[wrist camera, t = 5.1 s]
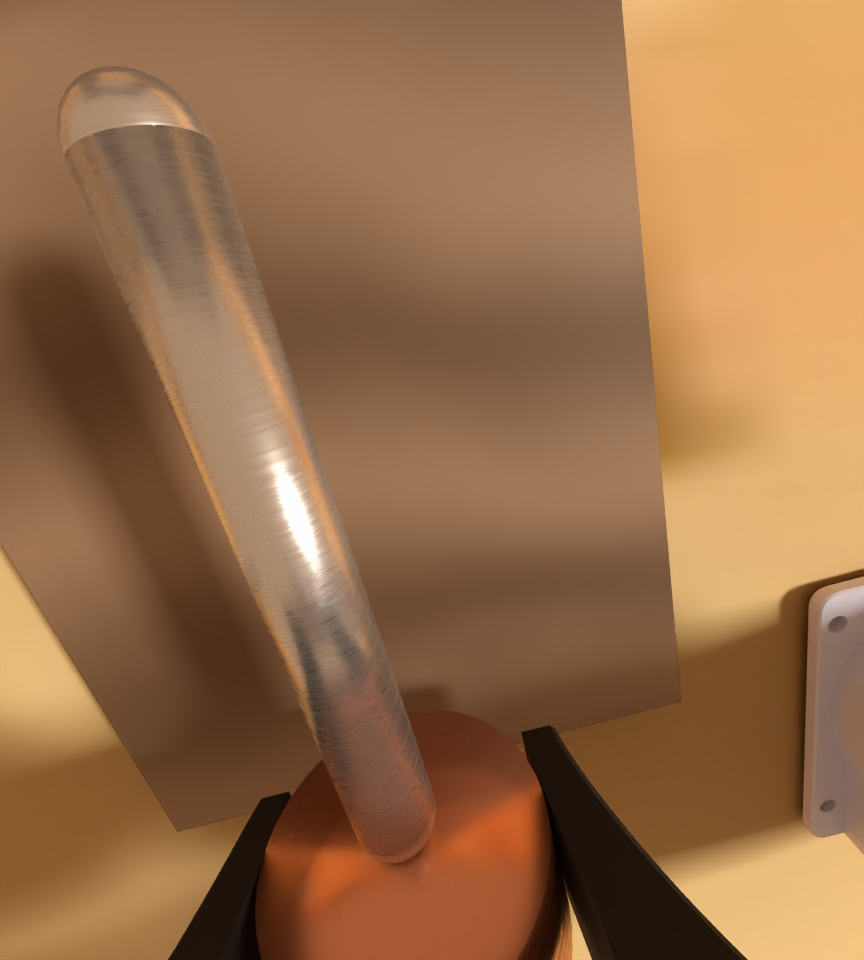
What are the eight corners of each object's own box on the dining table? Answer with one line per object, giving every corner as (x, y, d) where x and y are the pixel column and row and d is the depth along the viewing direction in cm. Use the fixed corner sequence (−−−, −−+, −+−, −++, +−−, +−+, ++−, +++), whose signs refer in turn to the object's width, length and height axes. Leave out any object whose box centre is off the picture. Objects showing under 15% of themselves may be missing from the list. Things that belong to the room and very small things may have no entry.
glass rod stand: (527, 763, 11) (627, 1090, 6) (325, 815, 11) (274, 1180, 6) (373, 121, 7) (330, -347, 2) (46, 205, 7) (-741, -75, 2)
